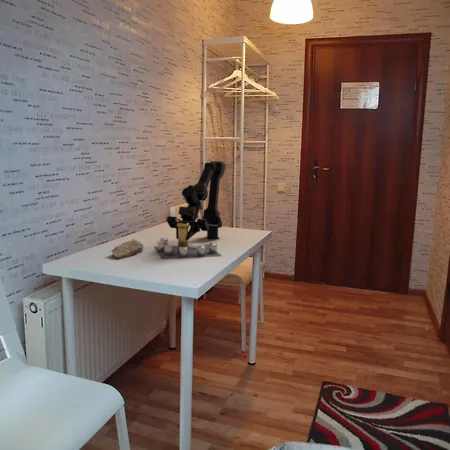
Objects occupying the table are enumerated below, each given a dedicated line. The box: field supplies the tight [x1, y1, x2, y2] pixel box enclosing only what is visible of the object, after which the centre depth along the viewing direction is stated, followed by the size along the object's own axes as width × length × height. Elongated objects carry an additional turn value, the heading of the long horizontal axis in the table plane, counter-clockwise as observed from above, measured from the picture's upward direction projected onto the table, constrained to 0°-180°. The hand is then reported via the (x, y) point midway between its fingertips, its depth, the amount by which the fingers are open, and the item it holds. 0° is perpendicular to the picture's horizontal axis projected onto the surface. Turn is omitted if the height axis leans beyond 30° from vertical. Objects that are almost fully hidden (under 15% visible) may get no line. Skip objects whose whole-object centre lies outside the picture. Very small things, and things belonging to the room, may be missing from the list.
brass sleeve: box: [177, 222, 190, 253], centre depth 194 cm, size 5×5×13 cm
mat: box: [153, 243, 223, 260], centre depth 197 cm, size 24×26×1 cm
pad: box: [188, 242, 205, 249], centre depth 207 cm, size 9×9×1 cm
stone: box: [109, 238, 144, 260], centre depth 192 cm, size 21×6×10 cm
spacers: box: [157, 237, 218, 259], centre depth 194 cm, size 16×28×4 cm, turn 70°
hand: (181, 239), depth 193 cm, fingers closed on brass sleeve, 4 cm apart
